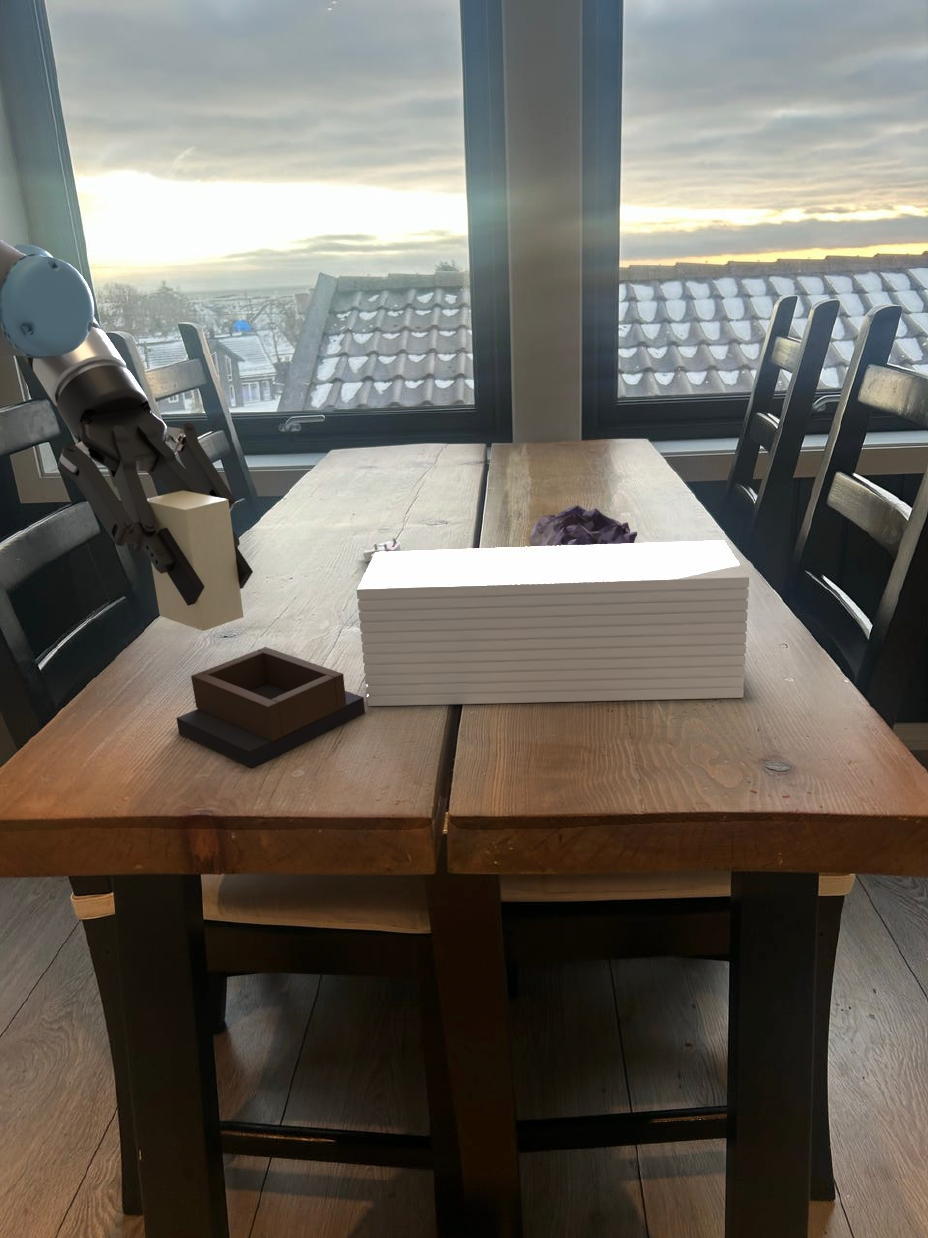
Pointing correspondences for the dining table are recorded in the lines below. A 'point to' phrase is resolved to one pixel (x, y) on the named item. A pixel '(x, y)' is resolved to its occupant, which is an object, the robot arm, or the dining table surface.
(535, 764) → the dining table surface
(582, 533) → the geode
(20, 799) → the dining table surface
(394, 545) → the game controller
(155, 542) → the robot arm
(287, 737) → the square socket base
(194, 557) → the cream rectangular block
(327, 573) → the dining table surface
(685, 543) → the stack of papers
